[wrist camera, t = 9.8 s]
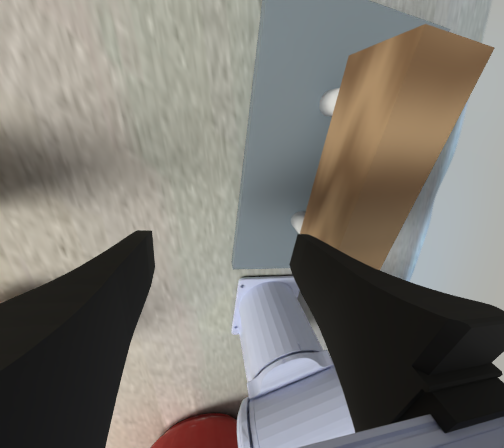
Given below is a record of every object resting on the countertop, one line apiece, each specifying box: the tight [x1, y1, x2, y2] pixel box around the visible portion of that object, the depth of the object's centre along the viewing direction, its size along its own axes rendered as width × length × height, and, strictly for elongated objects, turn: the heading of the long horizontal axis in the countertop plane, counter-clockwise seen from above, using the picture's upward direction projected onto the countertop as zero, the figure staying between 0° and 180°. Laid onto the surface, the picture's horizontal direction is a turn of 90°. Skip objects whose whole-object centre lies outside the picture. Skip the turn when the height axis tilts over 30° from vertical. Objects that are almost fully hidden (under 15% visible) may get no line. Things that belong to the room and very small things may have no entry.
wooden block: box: [300, 24, 494, 270], centre depth 14 cm, size 14×4×5 cm, turn 172°
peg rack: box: [232, 0, 450, 269], centre depth 18 cm, size 22×14×4 cm, turn 172°
